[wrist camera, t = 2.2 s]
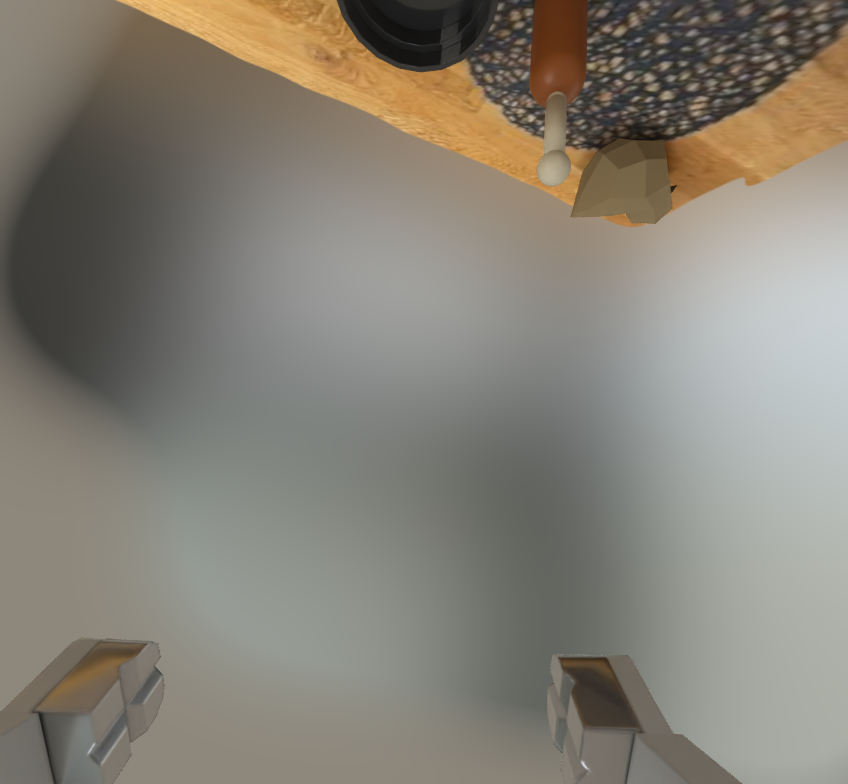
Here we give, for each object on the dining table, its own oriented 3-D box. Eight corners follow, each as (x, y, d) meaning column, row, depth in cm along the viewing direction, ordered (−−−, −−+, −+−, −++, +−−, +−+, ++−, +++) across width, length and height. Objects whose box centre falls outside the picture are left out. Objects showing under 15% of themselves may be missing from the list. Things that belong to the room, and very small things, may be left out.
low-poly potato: (568, 131, 57) (553, 215, 66) (605, 162, 50) (583, 251, 59) (674, 118, 59) (645, 202, 67) (725, 147, 51) (685, 237, 60)
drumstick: (523, 6, 43) (511, 188, 38) (558, -48, 39) (549, 150, 34) (562, 31, 45) (556, 208, 40) (599, -17, 41) (597, 174, 36)
